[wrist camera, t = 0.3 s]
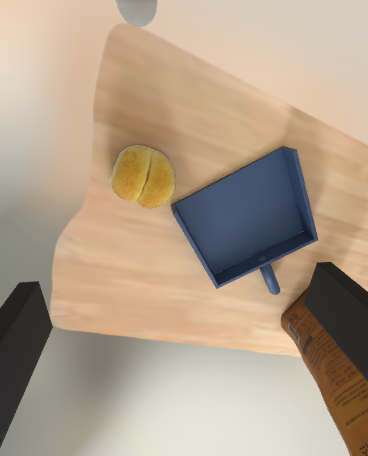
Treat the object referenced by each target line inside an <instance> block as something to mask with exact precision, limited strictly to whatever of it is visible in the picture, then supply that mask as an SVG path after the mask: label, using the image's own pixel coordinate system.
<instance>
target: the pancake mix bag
mask: <svg viewBox="0 0 368 456" xmlns="http://www.w3.org/2000/svg"><path fill="white" fill-rule="evenodd" d="M308 289H309V288H308ZM308 289H307V290H306V291H305V293H304V294H303V295H302V296H301V297H300V298H299V299H298V300H297V301H296V302H295V303H294V304H293V305H292V306H291V307H290V308H289V309H288V310H287V311H286V312H285V313H284V314H283V315H282V318H281V325H282V329H283V330H284V331H285V332H286V333H287V334H288V335H289V336H290V337H291V338H292V340H293V341H294V342H295V344H296V346H297V348H298V350H299V352H300V354H301V356H302V358H303V361H304V363H305V364H306V366H307V368H308V369H309V371H310V373H311V374H312V376H313V378H314V379H315V381H316V383H317V385H318V387H319V389H320V392H321V394H322V397H323V399H324V402H325V404H326V406H327V409H328V411H329V413H330V415H331V417H332V419H333V421H334V423H335V425H336V427H337V428H338V430H339V432H340V434H341V436H342V438H343V440H344V442H345V444H346V446H347V449H348V451H349V454H350V456H368V382H367V380H366V379H365V378H364V377H363V376H362V374H361V373H360V372H359V371H358V370H357V368H356V367H355V366H354V365H353V363H352V362H351V361H350V360H349V359H348V357H347V356H346V355H345V354H344V352H343V351H342V350H341V349H340V348H339V346H338V345H337V344H336V343H335V342H334V340H333V339H332V338H331V337H330V335H329V334H328V333H327V332H326V331H325V329H324V328H323V327H322V326H321V325H320V323H319V322H318V321H317V320H316V318H315V317H314V316H313V315H312V314H311V312H310V311H309V310H308V309H307V308H306V306H305V305H304V301H305V298H306V295H307V292H308Z"/></svg>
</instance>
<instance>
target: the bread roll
mask: <svg viewBox="0 0 368 456" xmlns="http://www.w3.org/2000/svg"><path fill="white" fill-rule="evenodd" d="M109 181H110V182H111V184H112V188H113V190H114V192H115V193H116V194H117V195H118V196H119V197H120V198H122V199H124V200H128V201H134V200H136V201H137V202H138V203H139V204H140V205H141V206H142V207H145V208H155V207H158V206H160V205H162V204H164V203H165V202H166V201H167V200H168V199H169V198H170V197H171V195H172V194H173V192H174V190H175V185H176V178H175V172H174V169H173V167H172V165H171V163H170V161H169V160H168V159H167V158H166V157H165V156H164V155H163V154H162V153H161V152H159V151H157V150H154V149H152V148H149V147H147V146H143V145H132V146H128V147H127V148H126V149H124V150H123V151H121V152H120V154H119V156H118V158H117V160H116V163H115V166H114V167H113V172H112V174H111V178H110V180H109Z"/></svg>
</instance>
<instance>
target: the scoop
mask: <svg viewBox="0 0 368 456" xmlns="http://www.w3.org/2000/svg"><path fill="white" fill-rule="evenodd" d="M171 207H172V211H173V215H174V216H175V218H176V220H177V221H178V223H179V225H180V227H181V228H182V230H183V232H184V234H185V235H186V237H187V239H188V240H189V242H190V244H191V246H192V247H193V249H194V251H195V253H196V254H197V256H198V258H199V259H200V261H201V263H202V265H203V266H204V268H205V270H206V271H207V273H208V275H209V277H210V278H211V280H212V282H213V284H214V285H215V287H216V289H217V288H220V287H222V286H224V285H226V284H228V283H230V282H232V281H234V280H236V279H238V278H240V277H242V276H244V275H247V274H249V273H251V272H253V271H255V270H257V269H259V268H260V270H261V272H262V274H263V277H264V279H265V282H266V284H267V286H268V289H269V291H270V293H272V294H274V295H277V294H278V293H279V292H280V287H279V285H278V282H277V280H276V277H275V274H274V272H273V269H272V267H271V264H270V263H271V262H274V261H276V260H278V259H280V258H282V257H284V256H286V255H288V254H290V253H292V252H294V251H296V250H298V249H301V248H303V247H305V246H307V245H309V244H311V243H313V242H315V241H317V240H318V237H317V233H316V229H315V224H314V220H313V216H312V212H311V208H310V204H309V199H308V195H307V191H306V187H305V183H304V179H303V175H302V170H301V166H300V162H299V158H298V154H297V150H296V149H292V148H288V147H284V146H283V147H281V148H279V149H277V150H275V151H274V152H272V153H270V154H268V155H266V156H264V157H262V158H260V159H258V160H256V161H254V162H253V163H251V164H249V165H247V166H245V167H243V168H241V169H239V170H237V171H235V172H234V173H232V174H230V175H228V176H226V177H224V178H222V179H220V180H218V181H216V182H215V183H213V184H211V185H209V186H207V187H205V188H203V189H201V190H199V191H197V192H196V193H194V194H192V195H190V196H188V197H186V198H184V199H182V200H180V201H178V202H177V203H175V204H173V205H171ZM302 231H303V232H302ZM300 232H301V233H300ZM298 233H299V234H298ZM296 234H297V235H296ZM294 235H295V236H294ZM292 236H293V237H292ZM290 237H291V238H290ZM288 238H289V239H288ZM286 239H287V240H286ZM284 240H285V241H284ZM282 241H283V242H282ZM280 242H281V243H280ZM278 243H279V244H278ZM263 250H264V251H263ZM261 251H262V252H261ZM259 252H260V253H259ZM257 253H258V254H257ZM255 254H256V255H255ZM253 255H254V256H253ZM251 256H252V257H251ZM249 257H250V258H249ZM247 258H248V259H247ZM245 259H246V260H245ZM243 260H244V261H243ZM241 261H242V262H241ZM239 262H240V263H239ZM237 263H238V264H237ZM222 270H223V271H222ZM220 271H221V272H220ZM218 272H219V273H218ZM216 273H217V274H216ZM214 274H215V275H214Z"/></svg>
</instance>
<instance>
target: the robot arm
mask: <svg viewBox="0 0 368 456" xmlns="http://www.w3.org/2000/svg"><path fill="white" fill-rule="evenodd" d="M304 305H305V306H306V308H307V309H308V310H309V311H310V312H311V314H312V315H313V316H314V317H315V318H316V320H317V321H318V322H319V323H320V325H321V326H322V327H323V328H324V329H325V331H326V332H327V333H328V334H329V335H330V337H331V338H332V339H333V340H334V342H335V343H336V344H337V345H338V346H339V348H340V349H341V350H342V351H343V352H344V354H345V355H346V356H347V357H348V359H349V360H350V361H351V362H352V363H353V365H354V366H355V367H356V368H357V370H358V371H359V372H360V373H361V374H362V376H363V377H364V378H365V379H366V380H367V382H368V292H367V291H366V290H365V289H364V288H362V287H361V286H360V285H359V284H357V283H356V282H355V281H354V280H352V279H351V278H350V277H349V276H348V275H346V274H345V273H344V272H343V271H341V270H340V269H339V268H338V267H336V266H335V265H334V264H333V263H331V262H321V263H317V265H316V268H315V271H314V274H313V277H312V280H311V283H310V286H309V289H308V292H307V295H306V298H305V301H304ZM52 328H53V326H52V323H51V320H50V317H49V313H48V310H47V307H46V304H45V300H44V297H43V294H42V291H41V288H40V284H39V282H38V281H37V282H22V283H19V284H18V285H17V286H16V288H15V289H14V290H13V292H12V293H11V294H10V296H9V297H8V298H7V300H6V301H5V303H4V304H3V305H2V307H1V308H0V447H1V445H2V442H3V440H4V438H5V436H6V433H7V431H8V429H9V426H10V424H11V422H12V420H13V417H14V415H15V413H16V410H17V408H18V406H19V403H20V401H21V399H22V397H23V394H24V392H25V390H26V387H27V385H28V383H29V380H30V378H31V376H32V374H33V371H34V369H35V367H36V365H37V362H38V360H39V358H40V355H41V353H42V351H43V348H44V346H45V344H46V342H47V339H48V337H49V334H50V332H51V330H52Z"/></svg>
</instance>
